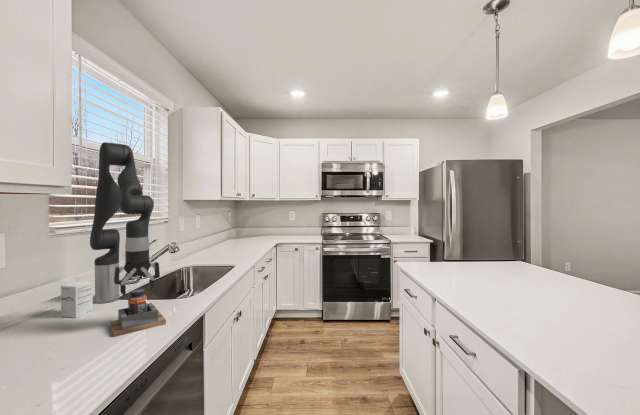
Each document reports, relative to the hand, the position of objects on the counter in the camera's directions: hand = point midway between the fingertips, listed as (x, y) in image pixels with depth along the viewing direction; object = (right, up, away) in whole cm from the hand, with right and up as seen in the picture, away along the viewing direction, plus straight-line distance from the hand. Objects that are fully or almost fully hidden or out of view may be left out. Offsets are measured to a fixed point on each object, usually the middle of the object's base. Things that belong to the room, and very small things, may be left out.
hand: (137, 292), depth 107 cm
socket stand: (0, -12, 0) cm, 12 cm away
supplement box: (-32, -12, +11) cm, 36 cm away
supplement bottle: (0, -11, 0) cm, 11 cm away
